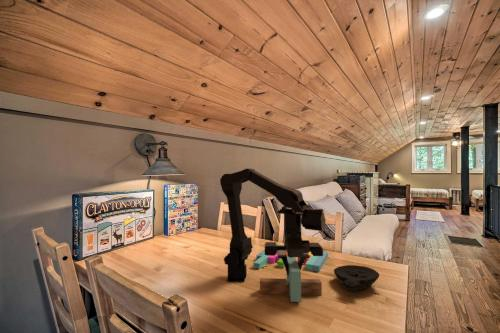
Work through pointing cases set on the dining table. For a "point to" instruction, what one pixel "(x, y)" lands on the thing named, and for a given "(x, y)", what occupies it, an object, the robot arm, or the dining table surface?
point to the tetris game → (310, 264)
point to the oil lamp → (356, 276)
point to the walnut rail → (282, 288)
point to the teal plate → (294, 280)
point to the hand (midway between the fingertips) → (292, 274)
